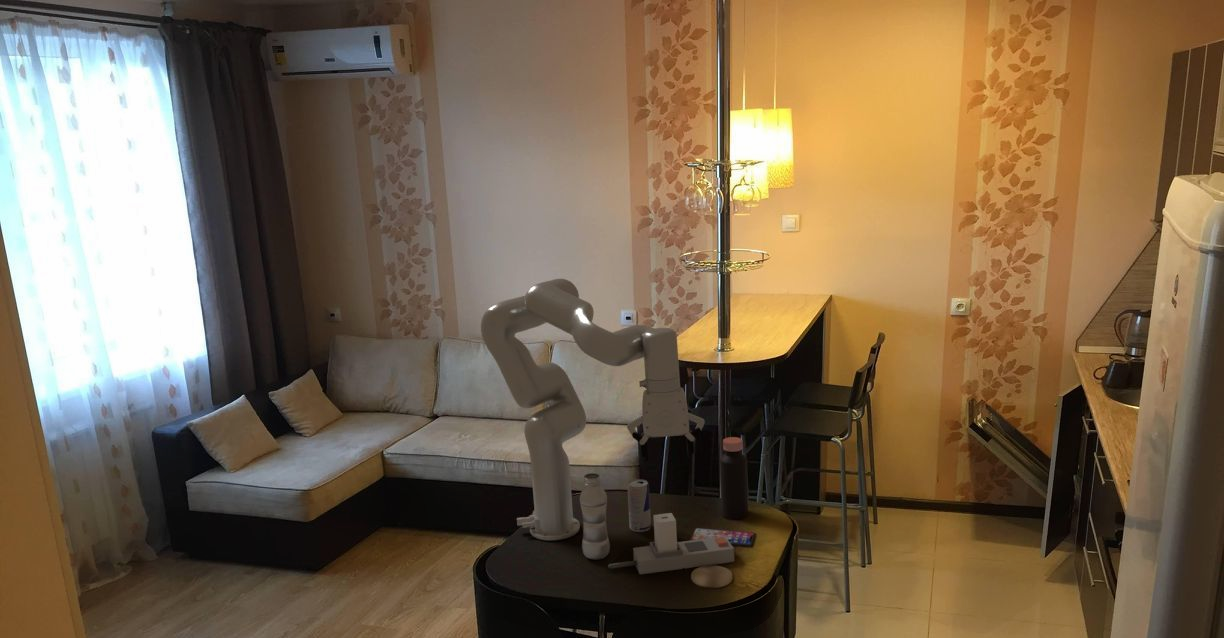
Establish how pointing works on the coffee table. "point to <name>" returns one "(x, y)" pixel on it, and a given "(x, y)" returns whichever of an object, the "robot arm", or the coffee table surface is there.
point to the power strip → (681, 555)
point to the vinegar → (733, 480)
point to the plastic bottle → (594, 518)
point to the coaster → (711, 576)
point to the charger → (665, 533)
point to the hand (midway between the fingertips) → (668, 458)
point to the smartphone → (733, 536)
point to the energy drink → (639, 505)
